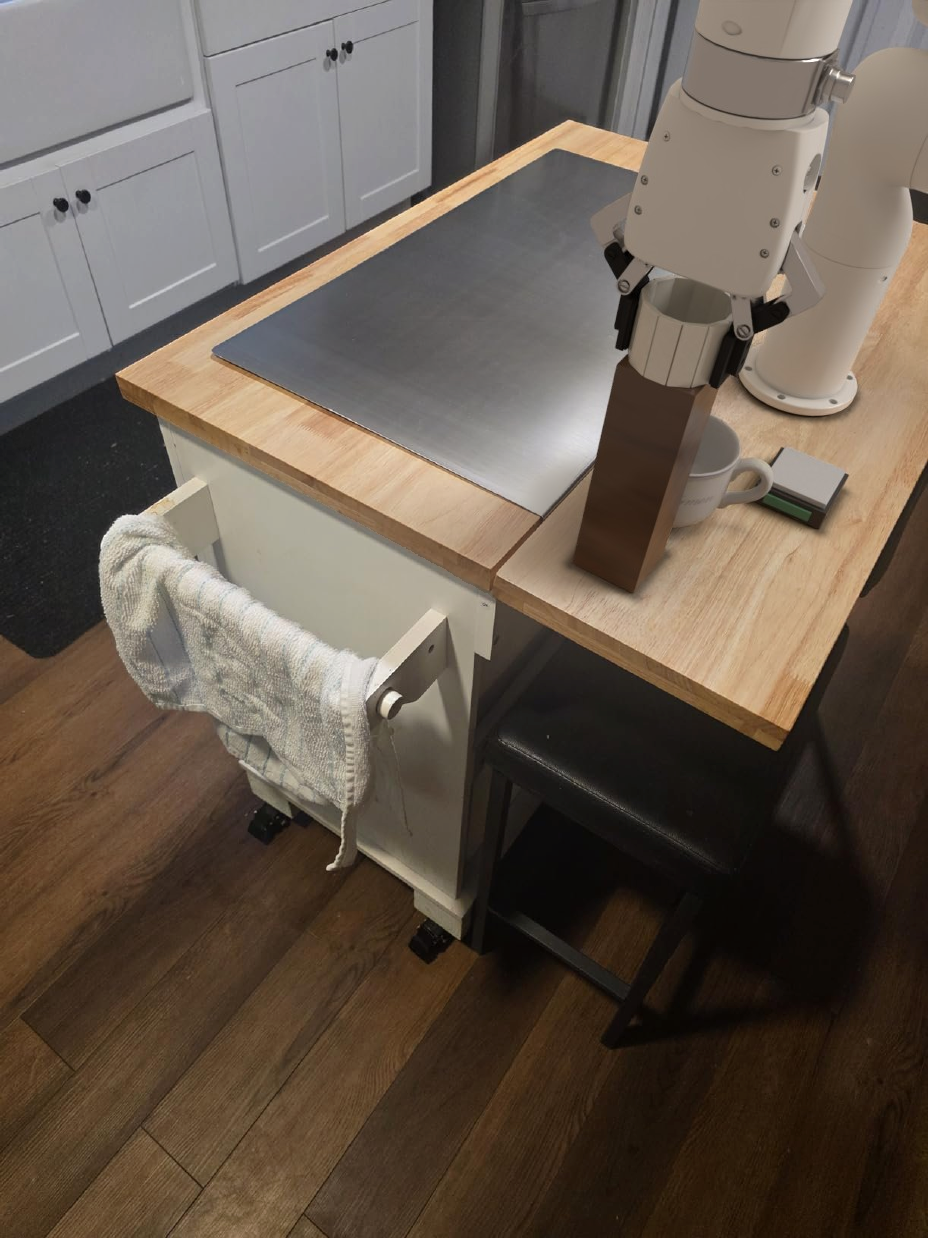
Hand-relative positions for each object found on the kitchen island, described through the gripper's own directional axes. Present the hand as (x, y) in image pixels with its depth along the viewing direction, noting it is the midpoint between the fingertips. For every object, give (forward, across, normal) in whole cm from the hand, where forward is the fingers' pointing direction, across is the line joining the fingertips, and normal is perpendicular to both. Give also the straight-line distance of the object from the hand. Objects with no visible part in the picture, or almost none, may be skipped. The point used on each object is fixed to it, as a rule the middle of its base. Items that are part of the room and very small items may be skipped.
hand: (674, 358), depth 61 cm
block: (+20, 0, 0) cm, 20 cm away
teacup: (+20, -2, -9) cm, 22 cm away
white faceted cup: (0, 0, 0) cm, 0 cm away
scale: (+20, -10, -18) cm, 29 cm away
